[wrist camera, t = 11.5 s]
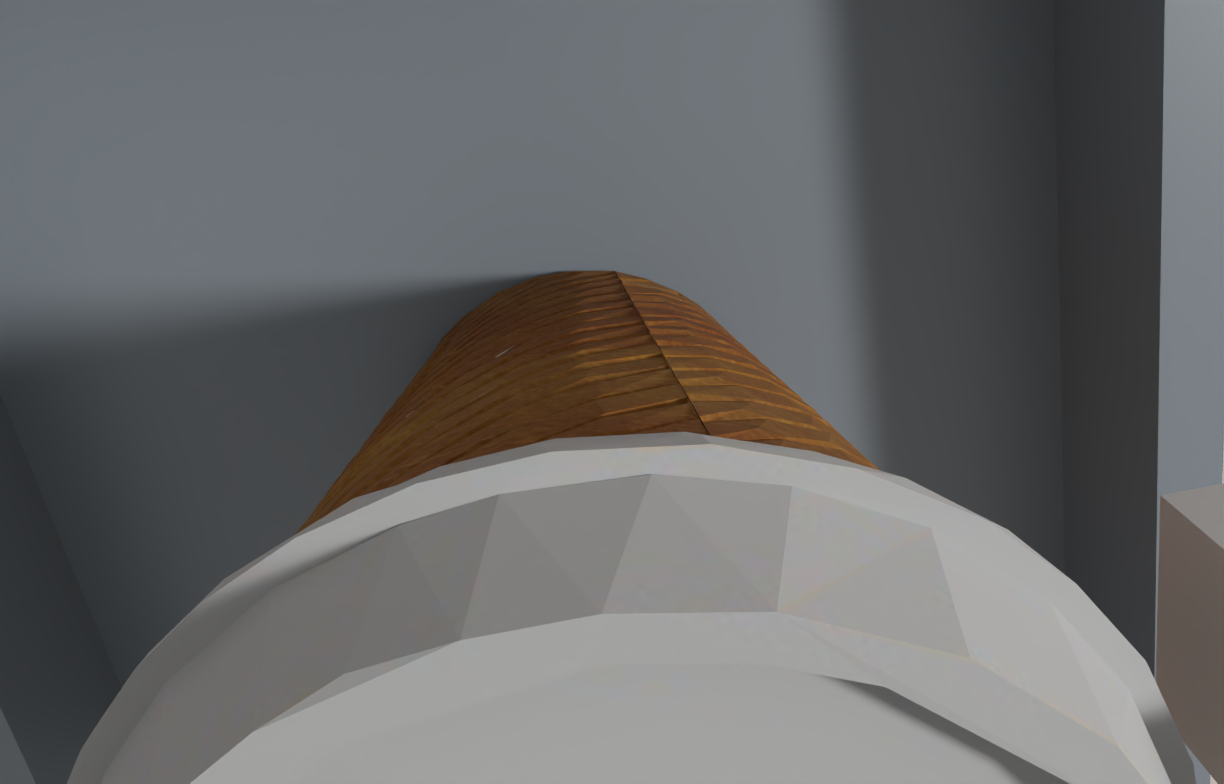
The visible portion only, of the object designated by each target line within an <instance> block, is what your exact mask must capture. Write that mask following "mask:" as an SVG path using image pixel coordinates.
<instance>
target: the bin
mask: <svg viewBox="0 0 1224 784" xmlns="http://www.w3.org/2000/svg"><path fill="white" fill-rule="evenodd" d="M565 271H616V272H621V273H625V274H629V275H633V276H638V277H642V278H646V279H648V280H650V281H653V282H655V283H658V284H660V285H663V286H665V287H668V288H670V289H673V290H675V291H678V292H679V293H681V294H682V295H684V296H686V297H687V298H689V299H690V300H692V301H693V302H695V303H697V304H698V305H699V306H701V307H702V308H703V309H704V310H705V311H706V312H707V313H708V314H710V315H711V316H712V317H713V318H714V319H715V320H716V321H717V322H718V323H719V324H720V325H721V326H722V327H724V328H725V329H726V330H727V331H728V332H729V333H730V334H731V335H732V336H733V337H734V338H735V339H736V340H737V341H738V342H739V343H741V344H742V345H743V346H744V347H745V348H746V349H747V350H748V351H749V352H750V353H751V354H753V355H754V356H755V357H756V358H757V359H758V360H759V361H760V362H761V363H762V364H763V365H765V366H766V367H767V368H768V369H769V370H770V371H771V372H772V373H773V374H775V375H776V376H777V377H778V378H779V379H781V380H782V381H783V382H784V383H785V384H786V385H787V386H788V387H789V388H790V389H791V390H793V391H794V392H795V393H797V394H798V395H799V396H800V397H801V398H802V399H803V401H804V402H805V403H807V404H808V405H809V406H811V407H812V408H813V409H814V410H815V411H816V412H817V413H818V414H819V415H820V416H821V417H822V418H823V419H825V420H826V421H827V422H828V423H829V424H830V425H831V426H832V427H833V428H834V429H836V430H837V431H838V432H839V433H840V434H841V435H842V436H843V437H844V438H845V439H846V440H847V441H848V442H849V443H850V444H852V445H853V446H854V447H855V448H856V449H857V450H858V451H859V452H860V453H861V454H862V455H863V456H865V457H866V458H867V459H868V460H869V461H870V462H871V463H872V464H873V465H875V466H876V467H877V468H878V469H879V470H880V471H883V472H887V473H890V474H894V475H897V476H901V477H904V478H907V479H909V480H911V481H913V482H915V483H917V484H919V485H921V486H923V487H925V488H927V489H929V490H931V491H932V492H934V493H936V494H938V495H940V496H942V497H944V498H946V499H948V500H950V501H952V502H954V503H956V504H958V505H960V506H962V507H964V508H966V509H968V510H970V511H972V512H974V513H976V514H978V515H980V516H982V517H984V518H986V519H988V520H990V521H992V522H994V523H996V524H998V525H1000V526H1002V527H1004V528H1006V529H1008V530H1009V531H1010V532H1012V533H1013V534H1014V535H1016V536H1017V537H1018V538H1019V539H1021V540H1022V541H1023V542H1024V543H1026V544H1027V545H1028V546H1029V547H1031V548H1032V549H1033V550H1034V551H1036V552H1037V553H1038V554H1039V555H1041V556H1042V557H1043V558H1044V559H1046V560H1047V561H1048V562H1050V563H1051V564H1052V565H1053V566H1055V567H1056V568H1057V569H1058V570H1060V571H1061V572H1062V573H1063V574H1065V575H1066V576H1067V577H1068V578H1070V579H1071V580H1072V581H1073V582H1075V583H1076V584H1077V585H1078V586H1079V587H1080V588H1081V589H1082V591H1083V592H1084V593H1085V594H1086V595H1087V596H1088V597H1089V598H1090V599H1091V601H1092V602H1093V603H1094V604H1095V605H1096V606H1097V607H1098V608H1099V609H1100V611H1101V612H1102V613H1103V614H1104V615H1105V616H1106V617H1107V618H1108V619H1109V621H1110V622H1111V623H1112V624H1113V625H1114V626H1115V627H1116V628H1117V629H1118V631H1119V632H1120V633H1121V634H1122V635H1123V636H1124V637H1125V638H1126V639H1127V640H1128V642H1129V643H1130V644H1131V645H1132V646H1133V647H1134V648H1135V649H1136V650H1137V652H1138V653H1139V654H1140V655H1141V656H1142V657H1143V658H1144V659H1145V660H1146V662H1147V664H1148V666H1149V668H1150V670H1151V673H1152V675H1153V677H1154V679H1155V681H1156V648H1157V608H1158V569H1159V530H1160V495H1164V494H1170V493H1175V492H1180V491H1186V490H1191V489H1197V488H1202V487H1208V486H1213V485H1219V484H1222V468H1223V443H1224V0H0V784H67V782H68V779H69V777H70V774H71V772H72V770H73V767H74V765H75V762H76V760H77V757H78V755H79V753H80V751H81V749H82V747H83V746H84V744H85V743H86V741H87V739H88V738H89V736H90V735H91V733H92V732H93V730H94V729H95V727H96V726H97V724H98V723H99V721H100V720H101V718H102V717H103V715H104V714H105V712H106V711H107V709H108V708H109V706H110V705H111V703H112V702H113V701H114V699H115V698H116V696H117V695H118V693H119V692H120V690H121V689H122V687H123V686H124V684H125V683H126V681H127V680H128V678H129V677H130V675H131V674H132V672H133V671H134V670H135V668H136V667H137V666H138V665H139V664H140V662H141V661H142V660H143V659H144V658H145V656H146V655H147V654H148V653H149V652H150V651H151V650H152V649H153V648H154V647H155V646H156V645H157V644H158V643H159V642H160V641H161V640H162V639H163V638H164V637H165V636H166V635H167V634H168V633H169V632H170V631H171V630H172V629H173V628H174V627H175V626H176V625H177V624H178V623H179V622H180V621H181V620H182V619H183V618H184V617H186V616H187V615H188V614H189V613H190V612H191V611H192V610H193V609H194V608H195V607H196V606H197V605H198V604H199V603H200V602H201V601H202V600H203V599H204V598H205V597H206V596H207V595H208V594H209V593H210V592H211V591H212V590H213V589H214V588H215V587H216V586H217V585H218V584H219V583H220V582H221V581H222V580H223V579H225V578H226V577H228V576H230V575H231V574H233V573H234V572H236V571H238V570H239V569H241V568H242V567H244V566H246V565H247V564H249V563H250V562H252V561H254V560H255V559H257V558H258V557H260V556H262V555H263V554H265V553H266V552H268V551H270V550H271V549H273V548H274V547H276V546H278V545H279V544H281V543H282V542H284V541H286V540H287V539H289V538H291V537H292V536H294V535H295V533H296V532H297V531H298V530H299V529H300V527H301V526H302V525H303V524H304V523H305V521H306V520H307V519H308V518H309V517H310V515H311V514H312V513H313V511H314V510H315V508H316V507H317V506H318V504H319V503H320V502H321V500H322V499H323V498H324V496H325V495H326V493H327V492H328V490H329V489H330V487H331V486H332V484H333V483H334V482H335V481H336V480H337V479H338V477H339V476H340V475H341V473H342V472H343V470H344V469H345V467H346V466H347V464H348V463H349V462H350V461H351V460H352V459H353V457H354V456H355V455H356V454H357V453H358V452H359V450H360V449H361V447H362V446H363V444H364V443H365V441H366V440H367V439H368V438H369V437H370V435H371V434H372V432H373V431H374V429H375V428H376V427H377V425H378V424H379V423H380V421H381V420H382V418H383V417H384V415H385V414H386V413H387V412H388V410H389V409H390V408H391V407H392V406H393V405H394V403H395V402H396V400H397V399H398V398H399V397H400V395H401V394H402V393H403V391H404V390H405V388H406V387H407V386H408V385H409V383H410V382H411V381H412V380H413V378H414V376H415V375H416V374H417V373H418V371H419V370H420V369H421V368H422V367H423V365H424V364H425V362H426V361H427V360H428V358H429V357H430V356H431V354H432V353H433V351H434V350H435V348H436V347H437V345H438V344H439V342H440V341H441V339H442V338H443V337H444V336H445V335H446V334H447V333H448V332H449V331H450V330H451V329H452V328H453V326H454V325H455V324H456V323H457V322H458V321H459V320H460V319H461V318H462V317H464V316H465V315H466V314H468V313H469V312H471V311H472V310H474V309H475V308H476V307H478V306H479V305H481V304H482V303H483V302H485V301H486V300H488V299H489V298H491V297H492V296H493V295H495V294H496V293H498V292H500V291H502V290H505V289H507V288H510V287H512V286H515V285H517V284H520V283H522V282H525V281H527V280H529V279H532V278H535V277H540V276H545V275H550V274H555V273H560V272H565ZM1184 745H1185V747H1186V749H1187V751H1188V753H1189V755H1190V758H1191V760H1192V762H1193V765H1194V773H1195V780H1196V784H1210V773H1209V772H1208V771H1207V770H1206V768H1205V767H1204V766H1203V765H1202V764H1201V762H1200V761H1199V760H1198V759H1197V758H1196V756H1195V755H1194V754H1193V753H1192V752H1191V750H1190V749H1189V748H1188V747H1187V746H1186V744H1185V743H1184Z"/></svg>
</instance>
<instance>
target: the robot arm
mask: <svg viewBox="0 0 1224 784" xmlns="http://www.w3.org/2000/svg"><path fill="white" fill-rule="evenodd" d="M1156 684H1157V686H1158V688H1159V690H1160V692H1161V694H1162V697H1163V699H1164V701H1165V703H1166V705H1167V707H1168V710H1169V712H1170V714H1171V716H1172V718H1173V721H1174V723H1175V725H1176V727H1177V729H1178V731H1179V734H1180V736H1181V738H1182V740H1183V742H1184V743H1185V744H1186V746H1187V747H1188V748H1189V749H1190V750H1191V752H1192V753H1193V754H1194V755H1195V756H1196V758H1197V759H1198V760H1199V761H1200V762H1201V764H1202V765H1203V766H1204V767H1205V768H1206V770H1207V771H1208V772H1209V773H1210V774H1211V776H1212V777H1213V778H1214V779H1215V781H1216V782H1217V783H1218V784H1224V484H1219V485H1213V486H1208V487H1202V488H1197V489H1191V490H1186V491H1180V492H1175V493H1170V494H1164V495H1160V530H1159V569H1158V608H1157V648H1156Z"/></svg>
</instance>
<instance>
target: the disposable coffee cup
mask: <svg viewBox="0 0 1224 784" xmlns="http://www.w3.org/2000/svg"><path fill="white" fill-rule="evenodd" d="M67 784H1196V780H1195V773H1194V765H1193V762H1192V760H1191V758H1190V755H1189V753H1188V751H1187V749H1186V747H1185V745H1184V742H1183V740H1182V738H1181V736H1180V734H1179V731H1178V729H1177V727H1176V725H1175V723H1174V721H1173V718H1172V716H1171V714H1170V712H1169V710H1168V707H1167V705H1166V703H1165V701H1164V699H1163V697H1162V694H1161V692H1160V690H1159V688H1158V686H1157V684H1156V681H1155V679H1154V677H1153V675H1152V673H1151V670H1150V668H1149V666H1148V664H1147V662H1146V660H1145V659H1144V658H1143V657H1142V656H1141V655H1140V654H1139V653H1138V652H1137V650H1136V649H1135V648H1134V647H1133V646H1132V645H1131V644H1130V643H1129V642H1128V640H1127V639H1126V638H1125V637H1124V636H1123V635H1122V634H1121V633H1120V632H1119V631H1118V629H1117V628H1116V627H1115V626H1114V625H1113V624H1112V623H1111V622H1110V621H1109V619H1108V618H1107V617H1106V616H1105V615H1104V614H1103V613H1102V612H1101V611H1100V609H1099V608H1098V607H1097V606H1096V605H1095V604H1094V603H1093V602H1092V601H1091V599H1090V598H1089V597H1088V596H1087V595H1086V594H1085V593H1084V592H1083V591H1082V589H1081V588H1080V587H1079V586H1078V585H1077V584H1076V583H1075V582H1073V581H1072V580H1071V579H1070V578H1068V577H1067V576H1066V575H1065V574H1063V573H1062V572H1061V571H1060V570H1058V569H1057V568H1056V567H1055V566H1053V565H1052V564H1051V563H1050V562H1048V561H1047V560H1046V559H1044V558H1043V557H1042V556H1041V555H1039V554H1038V553H1037V552H1036V551H1034V550H1033V549H1032V548H1031V547H1029V546H1028V545H1027V544H1026V543H1024V542H1023V541H1022V540H1021V539H1019V538H1018V537H1017V536H1016V535H1014V534H1013V533H1012V532H1010V531H1009V530H1008V529H1006V528H1004V527H1002V526H1000V525H998V524H996V523H994V522H992V521H990V520H988V519H986V518H984V517H982V516H980V515H978V514H976V513H974V512H972V511H970V510H968V509H966V508H964V507H962V506H960V505H958V504H956V503H954V502H952V501H950V500H948V499H946V498H944V497H942V496H940V495H938V494H936V493H934V492H932V491H931V490H929V489H927V488H925V487H923V486H921V485H919V484H917V483H915V482H913V481H911V480H909V479H907V478H904V477H901V476H897V475H894V474H890V473H887V472H883V471H880V470H879V469H878V468H877V467H876V466H875V465H873V464H872V463H871V462H870V461H869V460H868V459H867V458H866V457H865V456H863V455H862V454H861V453H860V452H859V451H858V450H857V449H856V448H855V447H854V446H853V445H852V444H850V443H849V442H848V441H847V440H846V439H845V438H844V437H843V436H842V435H841V434H840V433H839V432H838V431H837V430H836V429H834V428H833V427H832V426H831V425H830V424H829V423H828V422H827V421H826V420H825V419H823V418H822V417H821V416H820V415H819V414H818V413H817V412H816V411H815V410H814V409H813V408H812V407H811V406H809V405H808V404H807V403H805V402H804V401H803V399H802V398H801V397H800V396H799V395H798V394H797V393H795V392H794V391H793V390H791V389H790V388H789V387H788V386H787V385H786V384H785V383H784V382H783V381H782V380H781V379H779V378H778V377H777V376H776V375H775V374H773V373H772V372H771V371H770V370H769V369H768V368H767V367H766V366H765V365H763V364H762V363H761V362H760V361H759V360H758V359H757V358H756V357H755V356H754V355H753V354H751V353H750V352H749V351H748V350H747V349H746V348H745V347H744V346H743V345H742V344H741V343H739V342H738V341H737V340H736V339H735V338H734V337H733V336H732V335H731V334H730V333H729V332H728V331H727V330H726V329H725V328H724V327H722V326H721V325H720V324H719V323H718V322H717V321H716V320H715V319H714V318H713V317H712V316H711V315H710V314H708V313H707V312H706V311H705V310H704V309H703V308H702V307H701V306H699V305H698V304H697V303H695V302H693V301H692V300H690V299H689V298H687V297H686V296H684V295H682V294H681V293H679V292H678V291H675V290H673V289H670V288H668V287H665V286H663V285H660V284H658V283H655V282H653V281H650V280H648V279H646V278H642V277H638V276H633V275H629V274H625V273H621V272H616V271H565V272H560V273H555V274H550V275H545V276H540V277H535V278H532V279H529V280H527V281H525V282H522V283H520V284H517V285H515V286H512V287H510V288H507V289H505V290H502V291H500V292H498V293H496V294H495V295H493V296H492V297H491V298H489V299H488V300H486V301H485V302H483V303H482V304H481V305H479V306H478V307H476V308H475V309H474V310H472V311H471V312H469V313H468V314H466V315H465V316H464V317H462V318H461V319H460V320H459V321H458V322H457V323H456V324H455V325H454V326H453V328H452V329H451V330H450V331H449V332H448V333H447V334H446V335H445V336H444V337H443V338H442V339H441V341H440V342H439V344H438V345H437V347H436V348H435V350H434V351H433V353H432V354H431V356H430V357H429V358H428V360H427V361H426V362H425V364H424V365H423V367H422V368H421V369H420V370H419V371H418V373H417V374H416V375H415V376H414V378H413V380H412V381H411V382H410V383H409V385H408V386H407V387H406V388H405V390H404V391H403V393H402V394H401V395H400V397H399V398H398V399H397V400H396V402H395V403H394V405H393V406H392V407H391V408H390V409H389V410H388V412H387V413H386V414H385V415H384V417H383V418H382V420H381V421H380V423H379V424H378V425H377V427H376V428H375V429H374V431H373V432H372V434H371V435H370V437H369V438H368V439H367V440H366V441H365V443H364V444H363V446H362V447H361V449H360V450H359V452H358V453H357V454H356V455H355V456H354V457H353V459H352V460H351V461H350V462H349V463H348V464H347V466H346V467H345V469H344V470H343V472H342V473H341V475H340V476H339V477H338V479H337V480H336V481H335V482H334V483H333V484H332V486H331V487H330V489H329V490H328V492H327V493H326V495H325V496H324V498H323V499H322V500H321V502H320V503H319V504H318V506H317V507H316V508H315V510H314V511H313V513H312V514H311V515H310V517H309V518H308V519H307V520H306V521H305V523H304V524H303V525H302V526H301V527H300V529H299V530H298V531H297V532H296V533H295V535H294V536H292V537H291V538H289V539H287V540H286V541H284V542H282V543H281V544H279V545H278V546H276V547H274V548H273V549H271V550H270V551H268V552H266V553H265V554H263V555H262V556H260V557H258V558H257V559H255V560H254V561H252V562H250V563H249V564H247V565H246V566H244V567H242V568H241V569H239V570H238V571H236V572H234V573H233V574H231V575H230V576H228V577H226V578H225V579H223V580H222V581H221V582H220V583H219V584H218V585H217V586H216V587H215V588H214V589H213V590H212V591H211V592H210V593H209V594H208V595H207V596H206V597H205V598H204V599H203V600H202V601H201V602H200V603H199V604H198V605H197V606H196V607H195V608H194V609H193V610H192V611H191V612H190V613H189V614H188V615H187V616H186V617H184V618H183V619H182V620H181V621H180V622H179V623H178V624H177V625H176V626H175V627H174V628H173V629H172V630H171V631H170V632H169V633H168V634H167V635H166V636H165V637H164V638H163V639H162V640H161V641H160V642H159V643H158V644H157V645H156V646H155V647H154V648H153V649H152V650H151V651H150V652H149V653H148V654H147V655H146V656H145V658H144V659H143V660H142V661H141V662H140V664H139V665H138V666H137V667H136V668H135V670H134V671H133V672H132V674H131V675H130V677H129V678H128V680H127V681H126V683H125V684H124V686H123V687H122V689H121V690H120V692H119V693H118V695H117V696H116V698H115V699H114V701H113V702H112V703H111V705H110V706H109V708H108V709H107V711H106V712H105V714H104V715H103V717H102V718H101V720H100V721H99V723H98V724H97V726H96V727H95V729H94V730H93V732H92V733H91V735H90V736H89V738H88V739H87V741H86V743H85V744H84V746H83V747H82V749H81V751H80V753H79V755H78V757H77V760H76V762H75V765H74V767H73V770H72V772H71V774H70V777H69V779H68V782H67Z"/></svg>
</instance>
